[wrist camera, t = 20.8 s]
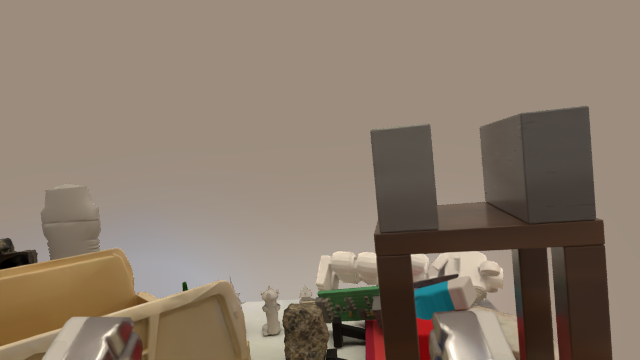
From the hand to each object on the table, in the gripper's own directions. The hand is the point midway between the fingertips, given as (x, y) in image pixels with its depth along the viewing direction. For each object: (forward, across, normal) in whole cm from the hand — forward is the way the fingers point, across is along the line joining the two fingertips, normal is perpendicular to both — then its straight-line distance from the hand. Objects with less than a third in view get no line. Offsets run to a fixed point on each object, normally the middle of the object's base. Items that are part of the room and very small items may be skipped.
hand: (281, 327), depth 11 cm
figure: (+38, -1, -36) cm, 52 cm away
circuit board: (+25, +4, -33) cm, 42 cm away
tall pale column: (+29, -36, -40) cm, 61 cm away
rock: (+14, -4, -28) cm, 32 cm away
